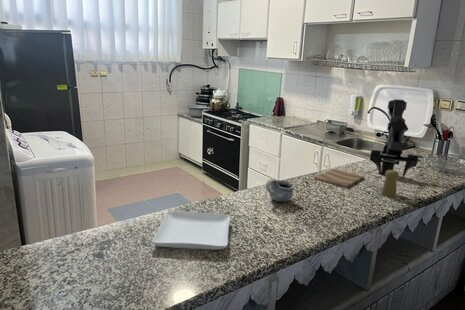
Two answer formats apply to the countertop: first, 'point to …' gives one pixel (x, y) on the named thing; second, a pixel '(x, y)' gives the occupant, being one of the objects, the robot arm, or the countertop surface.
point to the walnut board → (339, 178)
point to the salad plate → (193, 230)
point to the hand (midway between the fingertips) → (391, 174)
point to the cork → (390, 184)
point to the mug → (280, 189)
